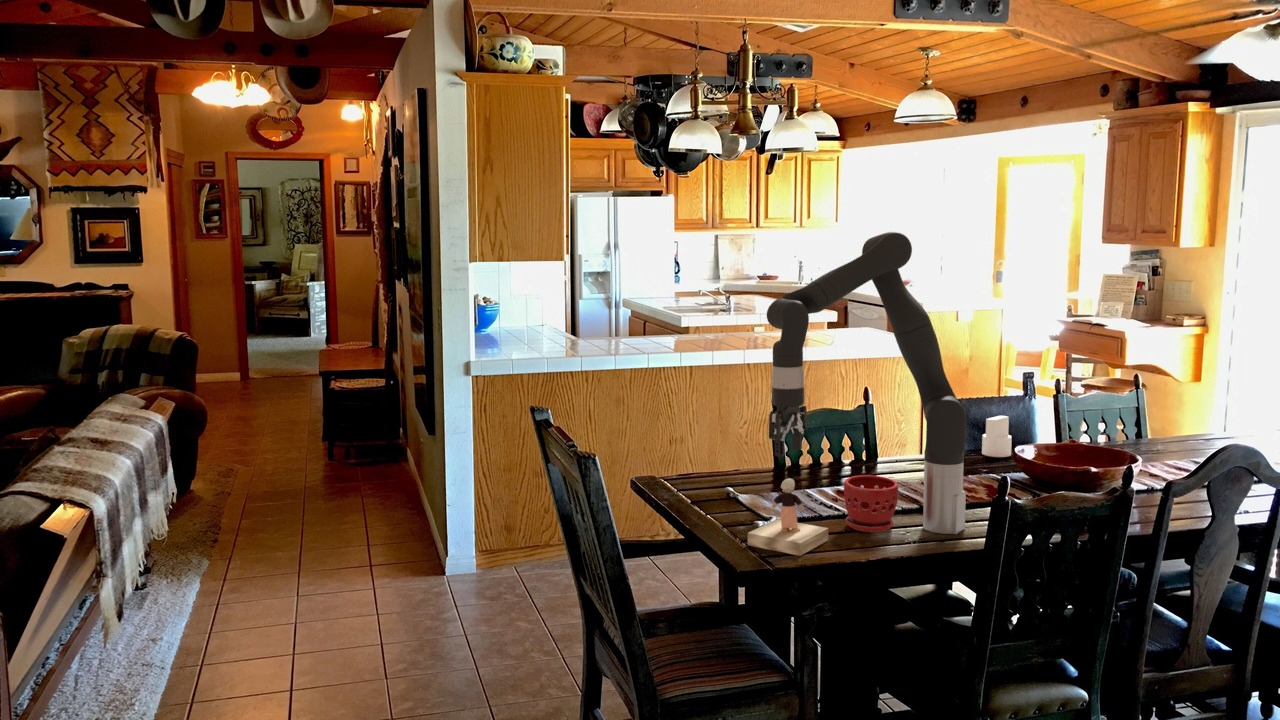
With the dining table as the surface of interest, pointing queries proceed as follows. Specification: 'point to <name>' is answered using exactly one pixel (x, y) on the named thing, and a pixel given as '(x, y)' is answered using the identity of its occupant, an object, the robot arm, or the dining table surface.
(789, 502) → the grandmother figurine
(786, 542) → the birch platform
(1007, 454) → the base with upright slab
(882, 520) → the plant pot
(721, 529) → the dining table surface
